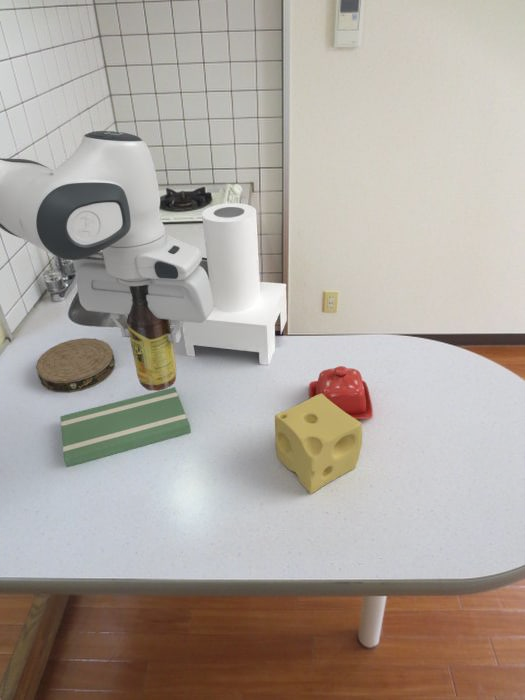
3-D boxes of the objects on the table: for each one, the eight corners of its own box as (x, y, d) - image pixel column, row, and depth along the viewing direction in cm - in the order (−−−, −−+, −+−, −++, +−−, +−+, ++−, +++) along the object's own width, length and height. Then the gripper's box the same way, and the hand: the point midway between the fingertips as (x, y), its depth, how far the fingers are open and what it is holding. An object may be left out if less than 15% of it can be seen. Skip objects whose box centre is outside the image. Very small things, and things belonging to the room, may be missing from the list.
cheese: (310, 496, 83) (311, 451, 77) (272, 456, 90) (270, 412, 85) (360, 468, 87) (364, 423, 82) (320, 431, 95) (321, 388, 89)
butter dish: (311, 424, 97) (311, 388, 92) (308, 385, 106) (308, 351, 101) (373, 423, 96) (377, 387, 91) (365, 385, 106) (368, 350, 101)
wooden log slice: (127, 353, 119) (125, 342, 117) (92, 397, 106) (88, 385, 104) (65, 345, 122) (62, 335, 121) (24, 387, 110) (19, 376, 108)
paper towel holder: (286, 320, 128) (284, 198, 111) (268, 365, 113) (262, 232, 96) (213, 313, 132) (201, 195, 115) (186, 355, 117) (167, 226, 100)
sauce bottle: (137, 374, 87) (115, 264, 76) (174, 367, 89) (158, 258, 77) (141, 397, 82) (118, 283, 71) (181, 390, 83) (164, 276, 72)
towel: (66, 467, 90) (63, 458, 89) (63, 424, 100) (60, 415, 99) (190, 432, 96) (189, 424, 95) (176, 394, 106) (174, 386, 104)
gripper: (57, 258, 73) (81, 341, 81) (195, 270, 68) (206, 357, 76) (82, 240, 78) (101, 320, 86) (212, 250, 73) (220, 334, 81)
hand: (151, 338), depth 81 cm, fingers closed on sauce bottle, 6 cm apart
